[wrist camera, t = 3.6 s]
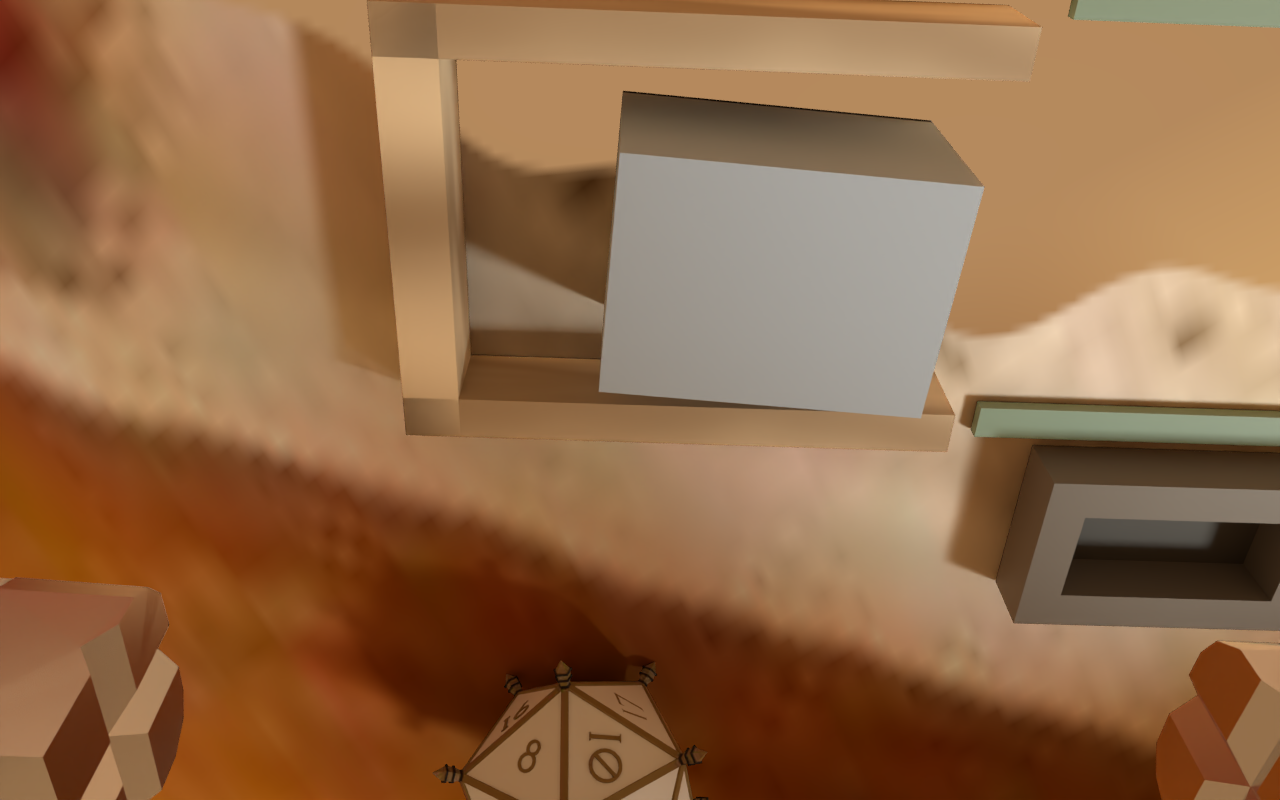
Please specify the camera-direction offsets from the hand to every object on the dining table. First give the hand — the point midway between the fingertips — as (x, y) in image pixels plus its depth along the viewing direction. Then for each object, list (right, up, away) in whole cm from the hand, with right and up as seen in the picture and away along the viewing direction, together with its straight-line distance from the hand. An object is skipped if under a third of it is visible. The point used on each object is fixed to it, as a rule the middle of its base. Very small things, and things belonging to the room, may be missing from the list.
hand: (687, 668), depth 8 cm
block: (+3, +7, +20) cm, 22 cm away
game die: (-2, -8, +30) cm, 31 cm away
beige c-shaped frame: (+1, +7, +20) cm, 21 cm away
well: (+16, -2, +26) cm, 30 cm away
